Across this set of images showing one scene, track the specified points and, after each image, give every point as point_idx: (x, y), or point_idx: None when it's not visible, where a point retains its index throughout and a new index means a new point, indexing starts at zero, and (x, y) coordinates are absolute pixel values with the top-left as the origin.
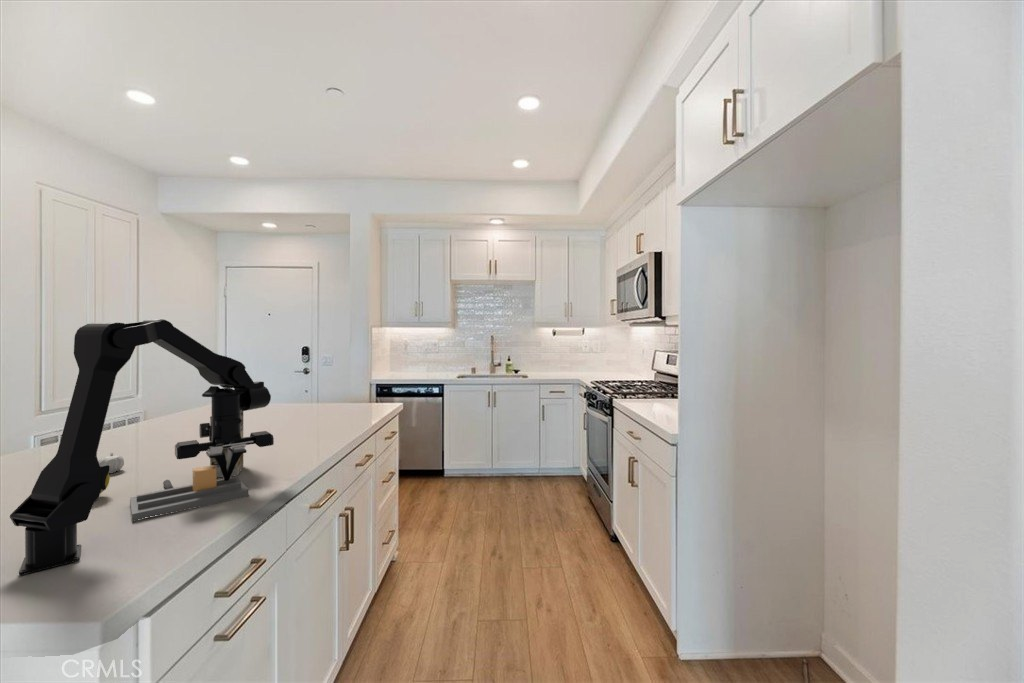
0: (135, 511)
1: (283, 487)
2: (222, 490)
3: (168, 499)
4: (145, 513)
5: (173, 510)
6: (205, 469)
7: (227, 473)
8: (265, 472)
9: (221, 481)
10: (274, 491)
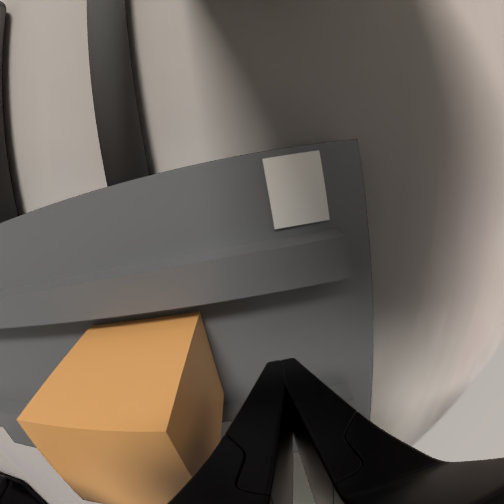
0: (8, 429)
1: (485, 359)
2: None
3: None
4: None
5: None
6: (133, 497)
7: (295, 438)
8: (471, 30)
9: (246, 293)
10: (447, 394)
